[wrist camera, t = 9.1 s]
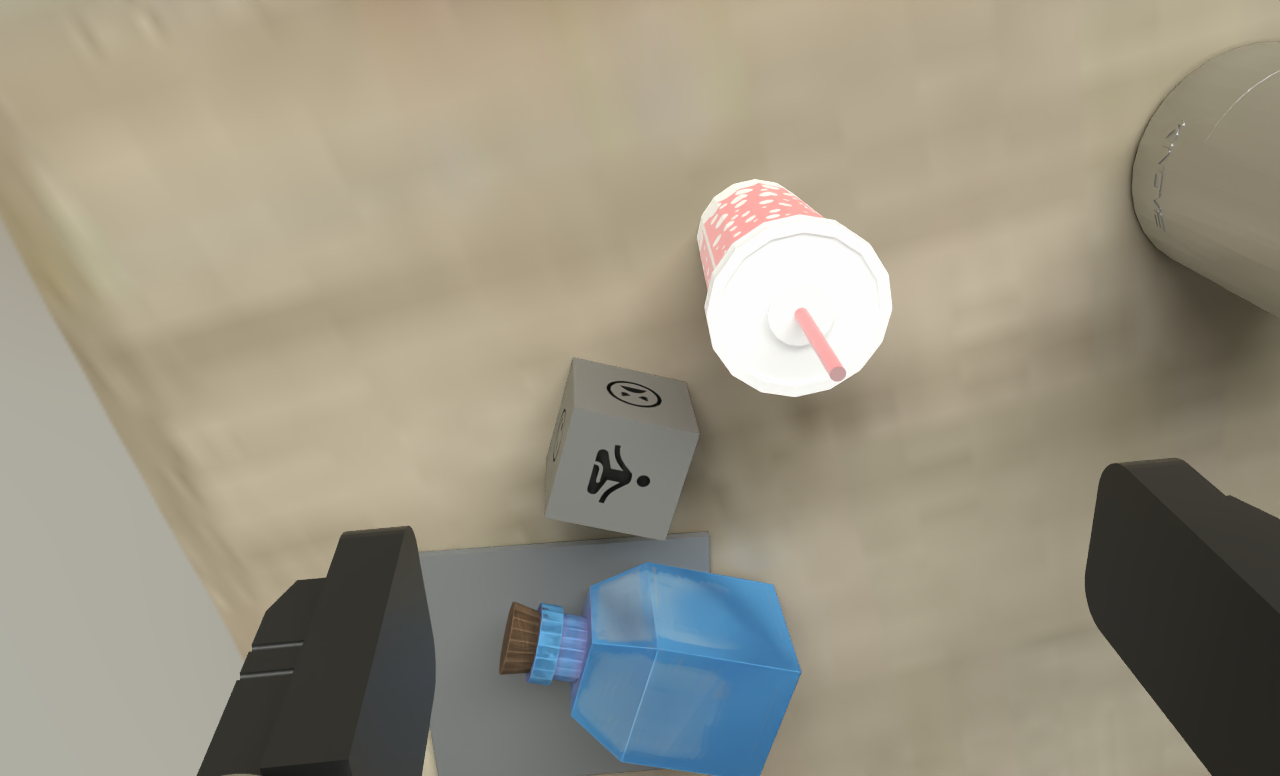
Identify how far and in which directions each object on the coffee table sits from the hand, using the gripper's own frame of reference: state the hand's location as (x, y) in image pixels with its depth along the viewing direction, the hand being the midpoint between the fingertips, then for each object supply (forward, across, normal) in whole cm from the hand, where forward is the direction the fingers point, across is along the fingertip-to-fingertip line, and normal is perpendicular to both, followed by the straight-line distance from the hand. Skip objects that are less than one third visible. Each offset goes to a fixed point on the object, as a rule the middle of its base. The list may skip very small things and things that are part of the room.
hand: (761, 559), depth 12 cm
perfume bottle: (+26, -5, +25) cm, 36 cm away
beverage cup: (+30, -5, +5) cm, 31 cm away
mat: (+30, +4, +26) cm, 40 cm away
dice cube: (+30, +1, +13) cm, 33 cm away
